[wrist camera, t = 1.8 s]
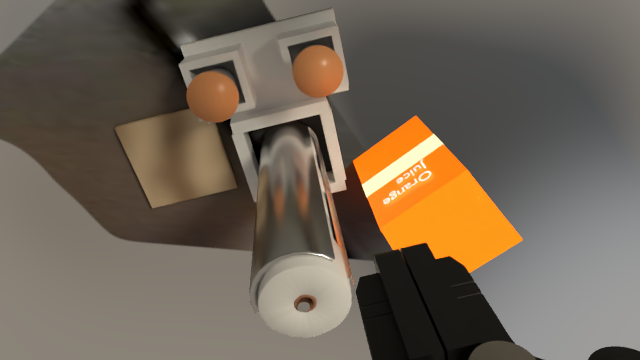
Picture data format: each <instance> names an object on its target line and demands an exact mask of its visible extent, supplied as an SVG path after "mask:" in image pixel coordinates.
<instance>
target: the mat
mask: <svg viewBox="0 0 640 360" xmlns="http://www.w3.org/2000/svg"><path fill="white" fill-rule="evenodd" d="M115 131H116V133H117V135H118V137H119V139H120V141H121V143H122V145H123V147H124V150H125V152H126V154H127V156H128V158H129V160H130V162H131V164H132V166H133V169H134V171H135V173H136V175H137V177H138V179H139V181H140V183H141V185H142V188H143V190H144V192H145V194H146V196H147V198H148V200H149V202H150V204H151V207H152V208H156V207H160V206H165V205H169V204H173V203H177V202H181V201H185V200H189V199H194V198H198V197H202V196H206V195H210V194H214V193H218V192H223V191H227V190H231V189H235V188H237V187H238V185H237V182H236V179H235V176H234V174H233V171H232V168H231V165H230V162H229V159H228V157H227V154H226V151H225V148H224V145H223V142H222V140H221V137H220V134H219V131H218V128H217V125H216V123H211V124H208V122H207V121H199V119H198V117H197V116H196V115H195V114H194V113H193V112H192V111H191V109H190V108H187V109H183V110H179V111H175V112H171V113H167V114H163V115H159V116H155V117H150V118H146V119H142V120H138V121H134V122H130V123H126V124H122V125H118V126H116V127H115Z"/></svg>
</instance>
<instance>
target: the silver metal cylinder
mask: <svg viewBox="0 0 640 360" xmlns="http://www.w3.org/2000/svg"><path fill="white" fill-rule="evenodd" d="M354 286H355V285H354V281H353V278H352V273H351V269H350V265H349V261H348V257H347V253H346V249H345V245H344V241H343V237H342V233H341V229H340V225H339V221H338V217H337V213H336V209H335V205H334V201H333V197H332V193H331V189H330V185H329V181H328V177H327V173H326V169H325V165H324V161H323V157H322V153H321V149H320V145H319V141H318V138H317V136H316V134H315V133H314V131H313V130H312V129H311V128H310V127H309V126H307V125H305V124H304V123H302V122H298V121H289V122H285V123H281V124H277V125H274V126H272V127H271V128H270V129H269V130H268V131H267V132H266V133H265V135H264V137H263V139H262V144H261V153H260V165H259V178H258V190H257V203H256V215H255V228H254V241H253V253H252V266H251V278H250V291H249V292H250V303H251V305H252V308H253V309H254V311H255V313H257V312H259V313H260V315H261V317H262V319H263V320H264V322H265V323H266V324H267V325H268V326H269V327H270V328H272V329H273V330H275V331H277V332H279V333H282V334H285V335H288V336H294V337H314V336H317V335H320V334H322V333H324V332H327V331H329V330H331V329H334V328H335V327H336V326H337V325H339V324H340V323H341V322H342V321H343V320H344V318H345V317H346V316H347V314H348V312H349V310H350V306H351V303H352V301H353V298H354Z"/></svg>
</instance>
